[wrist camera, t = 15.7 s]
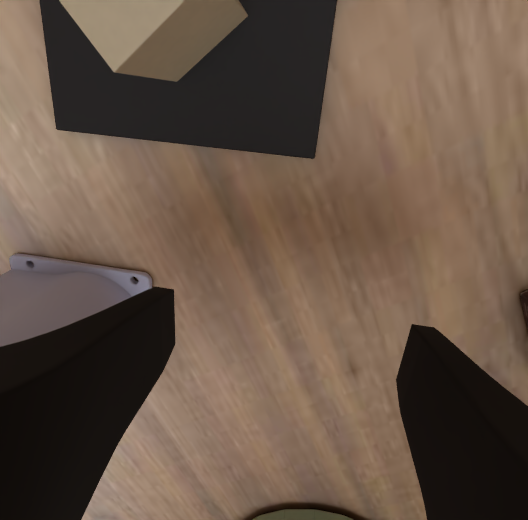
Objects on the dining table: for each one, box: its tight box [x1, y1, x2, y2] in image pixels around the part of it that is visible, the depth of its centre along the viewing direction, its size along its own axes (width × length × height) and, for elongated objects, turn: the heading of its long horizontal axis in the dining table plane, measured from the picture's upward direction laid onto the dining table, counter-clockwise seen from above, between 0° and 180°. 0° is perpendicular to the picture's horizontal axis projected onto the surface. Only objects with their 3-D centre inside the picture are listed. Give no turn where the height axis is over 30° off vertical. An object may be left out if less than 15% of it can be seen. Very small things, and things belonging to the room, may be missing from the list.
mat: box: [40, 0, 337, 159], centre depth 17 cm, size 14×12×1 cm
